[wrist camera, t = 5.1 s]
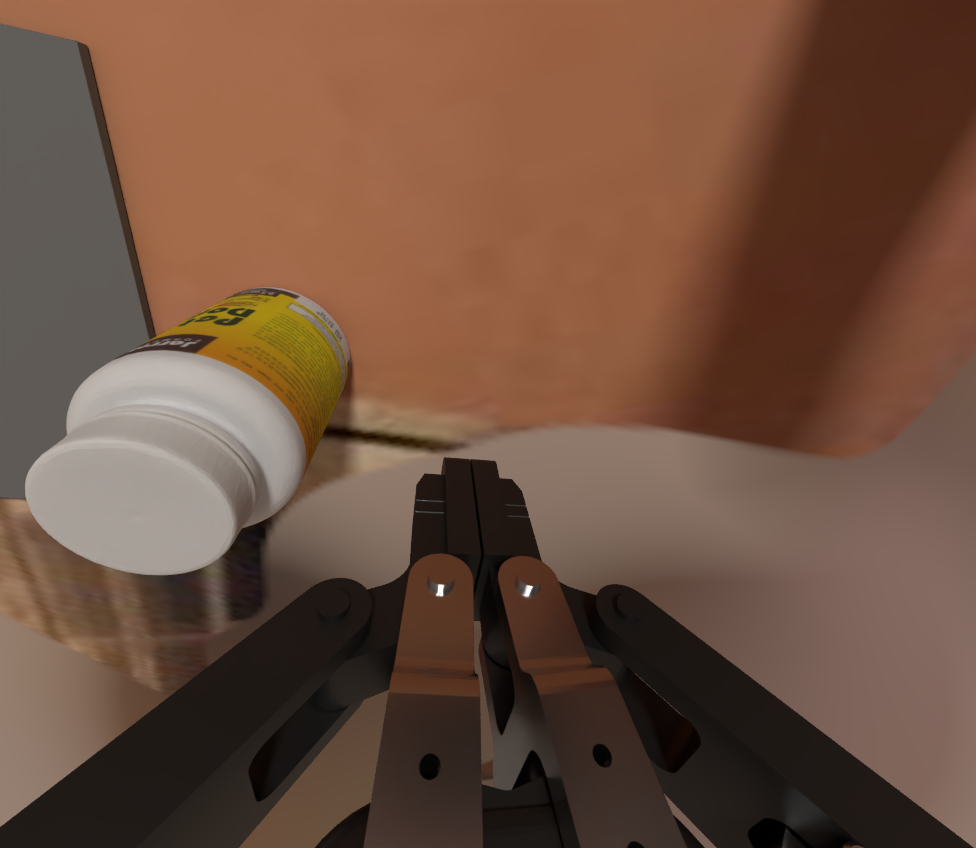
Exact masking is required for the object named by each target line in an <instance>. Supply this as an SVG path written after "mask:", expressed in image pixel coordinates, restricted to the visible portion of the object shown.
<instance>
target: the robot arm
mask: <svg viewBox="0 0 976 848" xmlns="http://www.w3.org/2000/svg"><path fill="white" fill-rule="evenodd" d="M525 505H526V504H525V500H524V497H523V493H522V491H521V490H520V488H519V487H518V486H517V485H516V484H515V482H514V481H513V480H512V479H501V478H499V474H498V469H497V464H496V462H495V461H488V460H475V459H471V460H470V461H469V459H459V458H446V457H444V459H443V465H442V472H441V475H438V474H424V475H423V477H422V478H421V479H420V481H419V482H418V484H417V486H416V496H415V505H414V515H413V524H412V540H411V554H410V565H409V567H408V569H407V570H406V571H405V572H404V574H402V575H401V576H400V577H399V578H397V579H396V580H394V581H392V582H390V583H388V584H385V585H383V586H379V587H375V588H371V589H368V590H367V589H366V588H365V587H364V586H363V585H362V584H360V583H358V582H357V581H354V580H351V579H346V578H335V579H329V580H325V581H323V582H320V583H318V584H316V585H314V586H313V587H311V588H310V589H309V590H307V591H306V592H305V593H303V594H302V595H301V596H300V597H298V598H297V599H296V600H294V601H293V602H292V603H290V604H289V605H288V606H286V607H285V608H284V609H283V610H282V611H280V612H279V613H277V614H276V615H275V616H273V617H272V618H271V619H270V620H268V621H267V622H266V623H264V624H263V625H262V626H260V627H259V628H258V629H257V630H255V631H254V632H253V633H251V634H250V635H249V636H247V637H246V638H245V639H244V640H242V641H241V642H240V643H238V644H237V645H236V646H235V647H233V648H232V649H231V650H229V651H228V652H227V653H225V654H224V655H223V656H222V657H221V658H219V659H218V660H216V661H215V662H214V663H212V664H211V665H210V666H209V667H207V668H206V669H205V670H203V671H202V672H201V673H199V674H198V675H197V676H196V677H194V678H193V679H192V680H190V681H189V682H188V683H186V684H185V685H184V686H183V687H181V688H180V689H179V690H177V691H176V692H175V693H174V694H172V695H171V696H170V697H168V698H167V699H166V700H164V701H163V702H162V703H161V704H159V705H158V706H157V707H155V708H154V709H153V710H151V711H150V712H149V713H148V714H146V715H145V716H144V717H142V718H141V719H140V720H139V721H137V722H136V723H135V724H133V725H132V726H131V727H129V728H128V729H127V730H126V731H124V732H123V733H122V734H121V735H119V736H118V737H116V738H115V739H114V740H113V741H112V742H110V743H109V744H108V745H106V746H105V747H104V748H103V749H101V750H100V751H98V752H97V753H96V754H94V755H93V756H92V757H91V758H89V759H88V760H87V761H86V762H84V763H83V764H81V765H80V766H79V767H78V768H76V769H75V770H74V771H72V772H71V773H70V774H68V775H67V776H66V777H65V778H63V779H62V780H61V781H59V782H58V783H57V784H55V785H54V786H53V787H52V788H50V789H49V790H48V791H46V792H45V793H44V794H43V795H41V796H40V797H39V798H38V799H36V800H35V801H33V802H32V803H31V804H30V805H28V806H27V807H26V808H24V809H23V810H22V811H21V812H19V813H18V814H17V815H15V816H14V817H13V818H11V819H10V820H9V821H7V822H6V823H5V824H4V825H2V826H1V827H0V848H239V847H240V845H241V844H242V843H243V842H244V841H245V840H246V838H247V837H248V836H249V835H250V834H251V833H252V831H253V830H254V829H255V828H256V827H257V825H258V824H259V823H260V822H261V821H262V820H263V818H264V817H265V816H266V815H267V814H268V813H269V812H270V810H271V809H272V808H273V807H274V806H275V805H276V803H277V802H278V801H279V800H280V799H281V797H282V796H283V795H284V794H285V793H286V792H287V791H288V789H289V788H290V787H291V786H292V784H294V782H295V781H296V780H297V779H298V777H300V775H301V774H302V773H303V772H304V771H305V769H306V768H307V767H308V766H309V765H310V764H311V763H312V761H313V760H314V759H315V758H316V757H317V756H318V754H319V753H320V752H321V751H322V750H323V748H324V747H325V746H326V745H327V744H328V743H329V742H330V740H331V739H332V738H333V737H334V736H335V735H336V733H337V732H338V731H339V730H340V729H341V728H342V726H343V725H344V724H345V722H347V721H348V719H349V718H350V717H351V716H352V715H353V713H354V712H355V711H356V710H357V709H358V708H359V706H360V705H361V703H362V702H363V700H364V699H367V698H369V697H372V696H374V695H377V694H379V693H382V692H384V691H387V690H389V693H388V700H387V705H386V712H385V718H384V724H383V730H382V737H381V742H380V748H379V755H378V761H377V767H376V773H375V779H374V786H373V791H372V798H371V803H369V804H367V805H365V806H364V807H362V808H360V809H358V810H357V811H355V812H353V813H352V814H351V815H349V816H348V817H347V818H345V819H344V820H343V821H341V822H340V823H339V824H338V825H337V826H336V827H334V828H333V829H332V830H331V831H330V832H329V833H328V834H327V835H326V836H325V837H324V838H323V839H322V840H321V841H320V842H319V844H318V845H317V846H316V847H315V848H704V846H703V845H702V844H701V843H700V842H699V841H698V840H697V839H696V838H695V837H694V836H693V834H692V833H691V832H690V831H689V830H688V829H687V828H686V827H685V826H684V825H683V824H682V823H681V822H680V821H679V820H678V819H677V818H676V817H675V816H674V815H673V814H672V812H671V809H670V807H669V805H668V802H667V800H666V798H665V795H666V796H667V797H668V798H669V799H670V800H671V801H672V802H673V803H674V804H675V805H676V806H677V807H678V808H679V809H680V810H681V811H682V812H683V813H684V814H685V815H686V817H687V818H688V819H689V820H690V821H691V822H692V823H693V824H694V825H695V826H696V827H697V828H698V829H699V830H700V831H701V832H702V833H703V834H704V835H705V836H706V837H707V838H708V839H709V840H710V841H711V842H712V843H713V844H714V845H715V846H716V848H973V847H972V846H970V845H969V844H968V843H967V842H965V841H964V840H963V839H962V838H960V837H959V836H957V835H956V834H955V833H954V832H952V831H951V830H950V829H949V828H947V827H946V826H945V825H943V824H942V823H941V822H939V821H938V820H937V819H935V818H934V817H933V816H931V815H930V814H929V813H928V812H926V811H925V810H924V809H922V808H921V807H920V806H918V805H917V804H916V803H914V802H913V801H912V800H911V799H909V798H908V797H907V796H905V795H904V794H903V793H901V792H900V791H899V790H897V789H896V788H895V787H893V786H892V785H891V784H890V783H888V782H887V781H886V780H884V779H883V778H882V777H880V776H879V775H878V774H876V773H875V772H874V771H873V770H871V769H870V768H868V767H867V766H866V765H864V764H863V763H862V762H861V761H859V760H858V759H857V758H855V757H854V756H853V755H852V754H850V753H849V752H847V751H846V750H845V749H844V748H842V747H841V746H840V745H838V744H837V743H836V742H835V741H833V740H832V739H831V738H829V737H828V736H826V735H825V734H824V733H823V732H821V731H820V730H819V729H817V728H816V727H815V726H814V725H812V724H811V723H809V722H808V721H807V720H806V719H804V718H803V717H802V716H800V715H799V714H798V713H797V712H795V711H794V710H793V709H791V708H790V707H789V706H787V705H786V704H785V703H783V702H782V701H781V700H779V699H778V698H777V697H776V696H774V695H773V694H772V693H770V692H769V691H768V690H766V689H765V688H764V687H762V686H761V685H759V683H757V682H756V681H755V680H753V679H752V678H751V677H749V676H748V675H747V674H745V673H744V672H743V671H741V670H740V669H739V668H738V667H736V666H735V665H733V664H732V663H731V662H730V661H728V660H727V659H726V658H724V657H723V656H722V655H721V654H719V653H718V652H717V651H715V650H714V649H713V648H711V647H710V646H709V645H707V644H706V643H705V642H703V641H702V640H701V639H700V638H698V637H697V636H696V635H694V634H693V633H692V632H690V631H689V630H688V629H686V628H685V627H684V626H683V625H681V624H680V623H679V622H677V621H676V620H675V619H673V618H672V617H671V616H669V615H668V614H667V613H666V612H664V611H663V610H661V609H660V608H659V607H658V606H656V605H655V604H654V603H652V602H651V601H649V600H648V599H647V598H646V597H645V596H643V595H642V594H640V593H639V592H637V591H636V590H634V589H632V588H630V587H627V586H623V585H618V584H614V585H607V586H605V587H603V588H602V589H600V591H599V592H598V594H597V596H596V595H593V594H590V593H586V592H583V591H580V590H577V589H574V588H571V587H568V586H566V585H564V584H562V583H560V582H559V581H558V579H557V577H556V575H555V573H554V572H553V571H552V570H551V569H550V567H548V566H547V565H546V564H544V563H543V562H542V560H541V557H540V554H539V550H538V546H537V543H536V539H535V536H534V532H533V529H532V525H531V522H530V518H529V515H528V511H527V508H526V506H525ZM474 621H480V622H481V631H482V636H481V640H480V644H479V659H480V664H481V671H482V676H483V683H484V689H485V695H486V701H487V707H488V712H489V719H490V724H491V730H492V737H493V750H494V753H493V754H494V756H493V780H494V787H490V786H486V785H483V784H482V770H481V719H480V686H479V678H478V675H477V674H475V670H474ZM635 673H636V674H637V675H638V676H639V677H640V678H641V679H642V680H643V681H645V682H646V683H647V684H648V685H649V686H650V687H651V688H652V689H654V690H655V691H656V692H657V693H658V694H659V695H660V696H661V697H662V698H661V697H660V696H659V695H658V694H657V693H656V692H655V691H654V690H652V689H651V688H650V687H649V686H648V685H647V684H646V683H645V682H643V681H642V680H641V679H640V678H639V677H638V676H637V675H636V674H635ZM663 698H664V699H665V700H666V701H667V702H668V703H669V704H670V705H672V706H673V707H674V708H675V709H676V710H677V711H678V712H679V713H680V714H681V715H680V714H679V713H678V712H677V711H676V710H675V709H674V708H673V707H671V706H670V705H669V704H668V703H667V702H666V701H665V700H664V699H663ZM682 715H683V716H684V717H685V718H684V717H683V716H682ZM664 794H665V795H664Z"/></svg>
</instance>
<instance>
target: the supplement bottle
mask: <svg viewBox="0 0 976 848" xmlns="http://www.w3.org/2000/svg"><path fill="white" fill-rule="evenodd" d="M349 371H350V352H349V348H348V344H347V341H346V339H345V336H344V334H343V333H342V331H341V329H340V327H339V326H338V324H337V323H336V321H335V320H334V319H333V318H332V317H331V316H330V315H329V314H328V313H327V312H326V311H325V310H324V309H323V308H322V307H320V306H319V305H318V304H316V303H315V302H313V301H312V300H310V299H308V298H306V297H304V296H302V295H300V294H298V293H295V292H292V291H289V290H285V289H280V288H272V287H261V288H253V289H248V290H245V291H242V292H239V293H237V294H234V295H232V296H230V297H228V298H226V299H225V300H223V301H221V302H219V303H217V304H215V305H214V306H212V307H210V308H208V309H206V310H205V311H203V312H201V313H199V314H197V315H195V316H193V317H192V318H190V319H188V320H186V321H184V322H182V323H181V324H179V325H177V326H175V327H173V328H171V329H169V330H167V331H165V332H163V333H161V334H160V335H158V336H156V337H154V338H152V339H151V340H149V341H147V342H145V343H143V344H142V345H140V346H138V347H136V348H134V349H133V350H131V351H129V352H127V353H125V354H123V355H121V356H119V357H117V358H115V359H114V360H112V361H110V362H109V363H107V364H106V365H104V366H103V367H101V368H100V369H98V370H97V371H96V372H94V373H93V374H91V375H90V376H89V377H88V378H87V379H86V380H85V381H84V382H83V383H82V384H81V385H80V386H79V388H78V389H77V391H76V392H75V394H74V396H73V398H72V400H71V402H70V405H69V409H68V412H67V422H66V427H67V436H66V437H65V438H64V439H62V440H61V441H60V442H58V443H57V444H56V445H54V446H53V447H52V448H50V449H49V450H47V451H46V452H45V453H43V454H42V455H41V456H40V457H39V458H38V459H37V460H36V461H35V463H34V464H33V465H32V467H31V468H30V470H29V472H28V474H27V477H26V482H25V496H26V500H27V503H28V505H29V508H30V510H31V513H32V514H33V516H34V518H35V519H36V521H37V522H38V523H39V524H40V525H41V527H42V528H43V529H44V530H45V531H46V532H47V533H48V534H49V535H51V536H52V537H53V538H54V539H55V540H57V541H58V542H59V543H60V544H62V545H63V546H65V547H66V548H68V549H69V550H71V551H73V552H74V553H76V554H78V555H80V556H82V557H84V558H87V559H89V560H91V561H93V562H95V563H98V564H101V565H104V566H107V567H110V568H113V569H117V570H121V571H125V572H130V573H137V574H146V575H172V574H181V573H186V572H190V571H194V570H197V569H200V568H203V567H205V566H207V565H209V564H211V563H213V562H214V561H216V560H217V559H219V558H220V557H221V556H222V555H224V554H225V553H226V552H227V550H228V549H229V548H230V547H231V545H232V544H233V542H234V541H235V539H236V537H237V535H238V533H239V532H240V530H241V528H244V527H247V526H250V525H254V524H256V523H259V522H261V521H263V520H265V519H267V518H269V517H271V516H272V515H274V514H275V513H276V512H278V511H279V510H280V509H281V508H283V507H284V506H285V505H286V503H288V502H289V500H290V499H291V498H292V496H293V495H294V493H295V492H296V490H297V488H298V487H299V485H300V483H301V481H302V478H303V476H304V474H305V472H306V470H307V467H308V465H309V463H310V461H311V459H312V457H313V454H314V452H315V450H316V448H317V445H318V443H319V441H320V439H321V437H322V435H323V433H324V430H325V428H326V426H327V424H328V421H329V419H330V417H331V415H332V413H333V410H334V408H335V406H336V404H337V402H338V400H339V397H340V395H341V393H342V391H343V389H344V387H345V384H346V382H347V379H348V376H349Z"/></svg>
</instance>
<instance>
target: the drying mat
mask: <svg viewBox="0 0 976 848" xmlns="http://www.w3.org/2000/svg"><path fill="white" fill-rule="evenodd" d="M154 337H155V333H154V329H153V325H152V320H151V316H150V312H149V307H148V303H147V299H146V295H145V290H144V286H143V282H142V278H141V273H140V269H139V265H138V261H137V256H136V252H135V248H134V244H133V239H132V235H131V231H130V227H129V222H128V218H127V214H126V210H125V205H124V201H123V197H122V193H121V188H120V184H119V180H118V176H117V171H116V167H115V163H114V158H113V154H112V150H111V146H110V141H109V137H108V133H107V129H106V124H105V120H104V116H103V112H102V107H101V103H100V99H99V95H98V90H97V86H96V82H95V78H94V73H93V69H92V65H91V61H90V56H89V52H88V48H87V45H85V44H82V43H80V42H77V41H73V40H69V39H65V38H60V37H56V36H52V35H47V34H43V33H39V32H34V31H30V30H26V29H21V28H17V27H13V26H8V25H4V24H0V497H1V498H20V499H26V496H25V482H26V477H27V474H28V472H29V470H30V468H31V467H32V465H33V464H34V463H35V461H36V460H37V459H38V458H39V457H40V456H41V455H42V454H43V453H45V452H46V451H47V450H49V449H50V448H52V447H53V446H54V445H56V444H57V443H58V442H60V441H61V440H62V439H64V438H65V437H66V436H67V427H66V422H67V412H68V409H69V405H70V402H71V400H72V398H73V396H74V394H75V392H76V391H77V389H78V388H79V386H80V385H81V384H82V383H83V382H84V381H85V380H86V379H87V378H88V377H89V376H90V375H91V374H93V373H94V372H96V371H97V370H98V369H100V368H101V367H103V366H104V365H106V364H107V363H109V362H110V361H112V360H114V359H115V358H117V357H119V356H121V355H123V354H125V353H127V352H129V351H131V350H133V349H134V348H136V347H138V346H140V345H142V344H143V343H145V342H147V341H149V340H151V339H152V338H154Z"/></svg>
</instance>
